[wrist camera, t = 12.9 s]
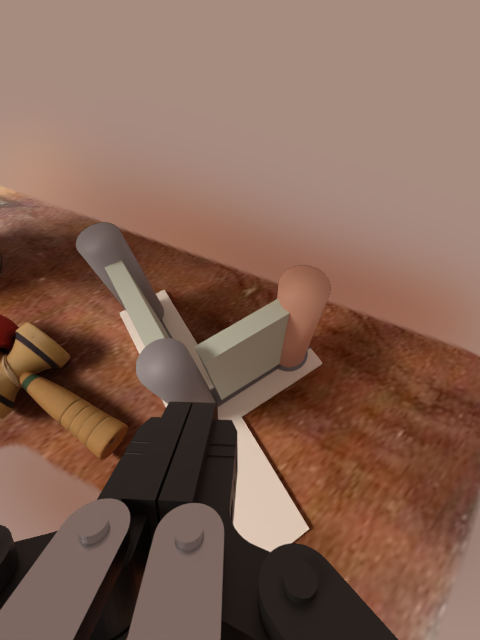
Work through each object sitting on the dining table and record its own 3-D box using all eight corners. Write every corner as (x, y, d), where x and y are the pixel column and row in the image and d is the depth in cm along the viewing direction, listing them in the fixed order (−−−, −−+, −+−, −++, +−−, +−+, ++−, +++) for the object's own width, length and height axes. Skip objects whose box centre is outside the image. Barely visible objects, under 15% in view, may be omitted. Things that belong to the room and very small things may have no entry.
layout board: (120, 314, 30) (119, 312, 30) (234, 255, 33) (234, 252, 33) (249, 574, 20) (249, 576, 20) (396, 458, 23) (399, 457, 23)
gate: (227, 409, 25) (209, 371, 15) (209, 379, 26) (183, 327, 17) (312, 355, 26) (341, 292, 17) (291, 329, 28) (309, 257, 18)
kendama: (158, 396, 28) (13, 302, 30) (133, 397, 22) (-46, 278, 24) (108, 474, 26) (-40, 368, 29) (65, 499, 20) (-118, 360, 23)
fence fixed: (130, 311, 30) (66, 230, 20) (157, 297, 30) (109, 211, 20) (192, 432, 24) (147, 402, 14) (224, 411, 25) (202, 370, 15)
